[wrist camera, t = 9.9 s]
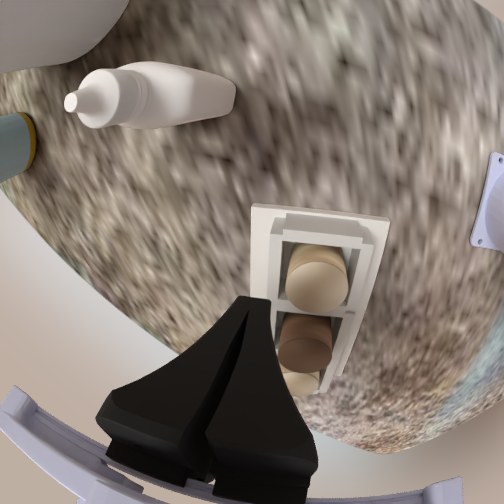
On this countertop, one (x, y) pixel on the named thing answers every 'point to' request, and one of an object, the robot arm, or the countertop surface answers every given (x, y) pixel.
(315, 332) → the walnut plug
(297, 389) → the maple plug
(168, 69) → the eye dropper bottle
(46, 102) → the countertop surface
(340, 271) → the maple plug
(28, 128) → the bottle
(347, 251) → the white compartment tray
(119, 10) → the utensil holder
